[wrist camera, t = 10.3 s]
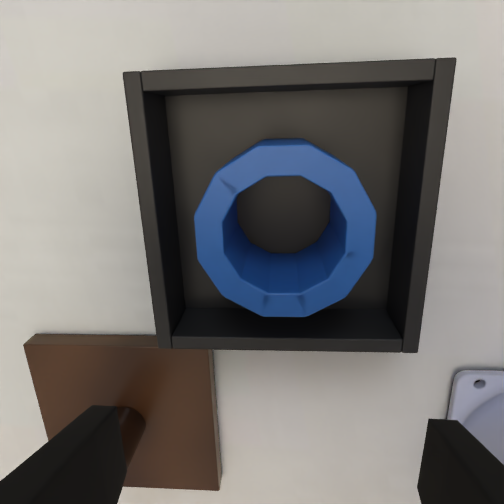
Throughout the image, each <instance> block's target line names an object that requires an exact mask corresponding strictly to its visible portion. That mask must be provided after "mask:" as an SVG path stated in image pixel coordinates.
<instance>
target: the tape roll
mask: <svg viewBox="0 0 504 504" xmlns="http://www.w3.org/2000/svg"><path fill="white" fill-rule="evenodd" d="M275 176H302V177H303V178H305V179H307V180H309V181H311V182H312V183H314V184H316V185H318V186H319V187H321V188H323V189H325V190H327V191H328V193H329V194H330V196H331V202H330V222H329V224H328V225H327V227H326V228H325V230H324V231H323V233H322V235H321V236H320V238H319V239H318V241H317V242H316V243H314V244H312V245H310V246H308V247H306V248H304V249H303V250H301V251H299V252H297V253H280V254H271V253H269V252H267V251H265V250H264V249H262V248H260V247H258V246H256V245H254V244H252V243H251V242H250V241H249V239H248V238H247V236H246V235H245V233H244V232H243V230H242V228H241V227H240V225H239V224H238V219H237V196H238V194H239V193H240V192H242V191H244V190H245V189H247V188H249V187H250V186H252V185H254V184H255V183H257V182H258V181H260V180H262V179H263V178H265V177H275ZM376 218H377V214H376V210H375V208H374V206H373V204H372V203H371V201H370V199H369V197H368V195H367V193H366V191H365V189H364V187H363V186H362V184H361V182H360V180H359V178H358V176H357V174H356V172H355V171H354V170H353V169H352V168H351V167H349V166H348V165H347V164H345V163H344V162H342V161H341V160H339V159H338V158H337V157H335V156H333V155H332V154H330V153H328V152H326V151H325V150H323V149H321V148H319V147H318V146H316V145H314V144H312V143H311V142H309V141H307V140H305V139H304V138H278V139H263V140H261V141H259V142H258V143H256V144H255V145H253V146H252V147H250V148H248V149H247V150H245V151H244V152H242V153H241V154H239V155H238V156H236V157H234V158H233V159H231V160H230V161H229V162H228V163H226V164H225V165H224V166H223V167H222V168H220V169H219V170H218V171H217V172H216V173H215V174H214V176H213V178H212V180H211V182H210V184H209V186H208V188H207V190H206V192H205V194H204V196H203V198H202V200H201V202H200V204H199V206H198V208H197V210H196V212H195V215H194V224H195V236H196V248H197V259H198V260H199V263H200V264H201V266H202V267H203V269H204V270H205V271H206V273H207V274H208V276H209V277H210V279H211V280H212V282H213V283H214V284H215V286H216V287H217V289H218V290H219V292H220V293H221V295H222V296H224V297H225V298H227V299H229V300H231V301H233V302H235V303H237V304H239V305H241V306H243V307H245V308H247V309H248V310H250V311H252V312H254V313H256V314H258V315H260V316H263V317H306V316H309V315H311V314H313V313H315V312H317V311H319V310H321V309H323V308H325V307H327V306H329V305H331V304H333V303H335V302H338V301H340V300H342V299H344V298H345V297H346V296H347V295H348V294H349V292H350V291H351V290H352V288H353V287H354V285H355V284H356V283H357V281H358V280H359V278H360V277H361V275H362V274H363V273H364V271H365V270H366V268H367V267H368V266H369V264H370V263H371V261H372V259H373V256H374V243H375V230H376Z"/></svg>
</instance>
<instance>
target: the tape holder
mask: <svg viewBox="0 0 504 504" xmlns="http://www.w3.org/2000/svg"><path fill="white" fill-rule="evenodd" d="M23 346H24V350H25V354H26V358H27V361H28V365H29V369H30V373H31V376H32V380H33V384H34V388H35V392H36V395H37V399H38V403H39V407H40V410H41V414H42V418H43V422H44V426H45V429H46V433H47V437H48V441H50V440H51V439H52V438H53V437H54V436H55V435H57V434H58V433H59V432H60V431H61V430H62V429H64V428H65V427H66V426H67V425H68V424H70V423H71V422H72V421H73V420H74V419H76V418H77V417H78V416H79V415H80V414H82V413H83V412H84V411H85V410H86V409H88V408H89V407H90V406H92V405H101V406H117V412H118V418H119V424H120V430H121V436H122V442H123V448H124V454H125V460H126V466H127V474H126V477H125V480H124V484H123V486H124V487H146V488H168V489H190V490H212V491H219V489H220V483H221V477H222V471H221V458H220V445H219V431H218V418H217V405H216V391H215V378H214V365H213V351H212V349H173V348H172V349H159V348H158V343H157V336H145V335H70V334H35V335H34V336H33V337H31V338H30V339H29V340H28V341H27V342H26V343H25V344H24V345H23Z"/></svg>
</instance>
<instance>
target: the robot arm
mask: <svg viewBox="0 0 504 504" xmlns="http://www.w3.org/2000/svg"><path fill="white" fill-rule="evenodd" d="M479 379H481V380H480V381H479V382H478V383H474V382H475V381H476V380H479ZM126 474H127V466H126V460H125V454H124V448H123V442H122V436H121V430H120V424H119V418H118V412H117V406H101V405H92V406H90V407H89V408H88V409H86V410H85V411H84V412H83V413H82V414H80V415H79V416H78V417H77V418H76V419H74V420H73V421H72V422H71V423H70V424H68V425H67V426H66V427H65V428H64V429H62V430H61V431H60V432H59V433H58V434H57V435H55V436H54V437H53V438H52V439H51V440H50V441H48V442H47V443H46V444H45V445H44V446H42V447H41V448H40V449H39V450H38V451H36V452H35V453H34V454H33V455H32V456H30V457H29V458H28V459H27V460H25V461H24V462H23V463H22V464H21V465H19V466H18V467H17V468H16V469H15V470H13V471H12V472H11V473H10V474H9V475H7V476H6V477H5V478H4V479H2V480H1V481H0V504H117V502H118V499H119V496H120V493H121V490H122V487H123V484H124V480H125V477H126ZM417 488H418V492H419V496H420V500H421V504H504V371H491V370H463V371H460V372H458V373H457V374H456V375H455V377H454V381H453V387H452V393H451V399H450V404H449V410H448V416H447V420H443V419H429V420H428V426H427V432H426V438H425V444H424V450H423V456H422V462H421V468H420V474H419V479H418V485H417Z"/></svg>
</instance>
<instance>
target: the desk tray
mask: <svg viewBox="0 0 504 504" xmlns="http://www.w3.org/2000/svg"><path fill="white" fill-rule="evenodd" d="M455 66H456V58H437V59H434V58H432V59H409V60H386V61H362V62H339V63H316V64H293V65H269V66H246V67H223V68H200V69H176V70H153V71H141V72H140V71H132V72H123V80H124V88H125V95H126V103H127V111H128V119H129V126H130V134H131V142H132V150H133V157H134V165H135V173H136V181H137V188H138V196H139V204H140V211H141V219H142V227H143V235H144V242H145V250H146V258H147V266H148V273H149V281H150V289H151V296H152V304H153V312H154V320H155V327H156V335H157V343H158V348H159V349H172V348H173V349H214V350H276V351H338V352H401V351H402V353H417V352H418V346H419V338H420V331H421V323H422V316H423V308H424V301H425V293H426V285H427V278H428V270H429V263H430V255H431V248H432V240H433V232H434V225H435V217H436V210H437V202H438V195H439V187H440V180H441V172H442V164H443V157H444V149H445V142H446V134H447V127H448V119H449V111H450V104H451V96H452V89H453V81H454V74H455ZM278 138H304V139H305V140H307V141H309V142H311V143H312V144H314V145H316V146H318V147H319V148H321V149H323V150H325V151H326V152H328V153H330V154H332V155H333V156H335V157H337V158H338V159H339V160H341V161H342V162H344V163H345V164H347V165H348V166H349V167H351V168H352V169H353V170H354V171H355V172H356V174H357V176H358V178H359V180H360V182H361V184H362V186H363V187H364V189H365V191H366V193H367V195H368V197H369V199H370V201H371V203H372V204H373V206H374V208H375V210H376V214H377V218H376V230H375V243H374V256H373V259H372V261H371V263H370V264H369V266H368V267H367V268H366V270H365V271H364V273H363V274H362V275H361V277H360V278H359V280H358V281H357V283H356V284H355V285H354V287H353V288H352V290H351V291H350V292H349V294H348V295H347V296H346V297H345V298H344V299H342V300H340V301H338V302H335V303H333V304H331V305H329V306H327V307H325V308H323V309H321V310H319V311H317V312H315V313H313V314H311V315H309V316H306V317H263V316H260V315H258V314H256V313H254V312H252V311H250V310H248V309H247V308H245V307H243V306H241V305H239V304H237V303H235V302H233V301H231V300H229V299H227V298H225V297H224V296H222V295H221V293H220V292H219V290H218V289H217V287H216V286H215V284H214V283H213V282H212V280H211V279H210V277H209V276H208V274H207V273H206V271H205V270H204V269H203V267H202V266H201V264H200V263H199V260H198V259H197V248H196V236H195V224H194V215H195V212H196V210H197V208H198V206H199V204H200V202H201V200H202V198H203V196H204V194H205V192H206V190H207V188H208V186H209V184H210V182H211V180H212V178H213V176H214V174H215V173H216V172H217V171H218V170H219V169H220V168H222V167H223V166H224V165H225V164H226V163H228V162H229V161H230V160H231V159H233V158H234V157H236V156H238V155H239V154H241V153H242V152H244V151H245V150H247V149H248V148H250V147H252V146H253V145H255V144H256V143H258V142H259V141H261V140H263V139H278ZM330 202H331V196H330V194H329V193H328V191H327V190H325V189H323V188H321V187H319V186H318V185H316V184H314V183H312V182H311V181H309V180H307V179H305V178H303V177H302V176H275V177H265V178H263V179H262V180H260V181H258V182H257V183H255V184H254V185H252V186H250V187H249V188H247V189H245V190H244V191H242V192H240V193H239V194H238V196H237V219H238V224H239V225H240V227H241V228H242V230H243V232H244V233H245V235H246V236H247V238H248V239H249V241H250V242H251V243H252V244H254V245H256V246H258V247H260V248H262V249H264V250H265V251H267V252H269V253H271V254H280V253H297V252H299V251H301V250H303V249H304V248H306V247H308V246H310V245H312V244H314V243H316V242H317V241H318V239H319V238H320V236H321V235H322V233H323V231H324V230H325V228H326V227H327V225H328V224H329V222H330Z"/></svg>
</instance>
